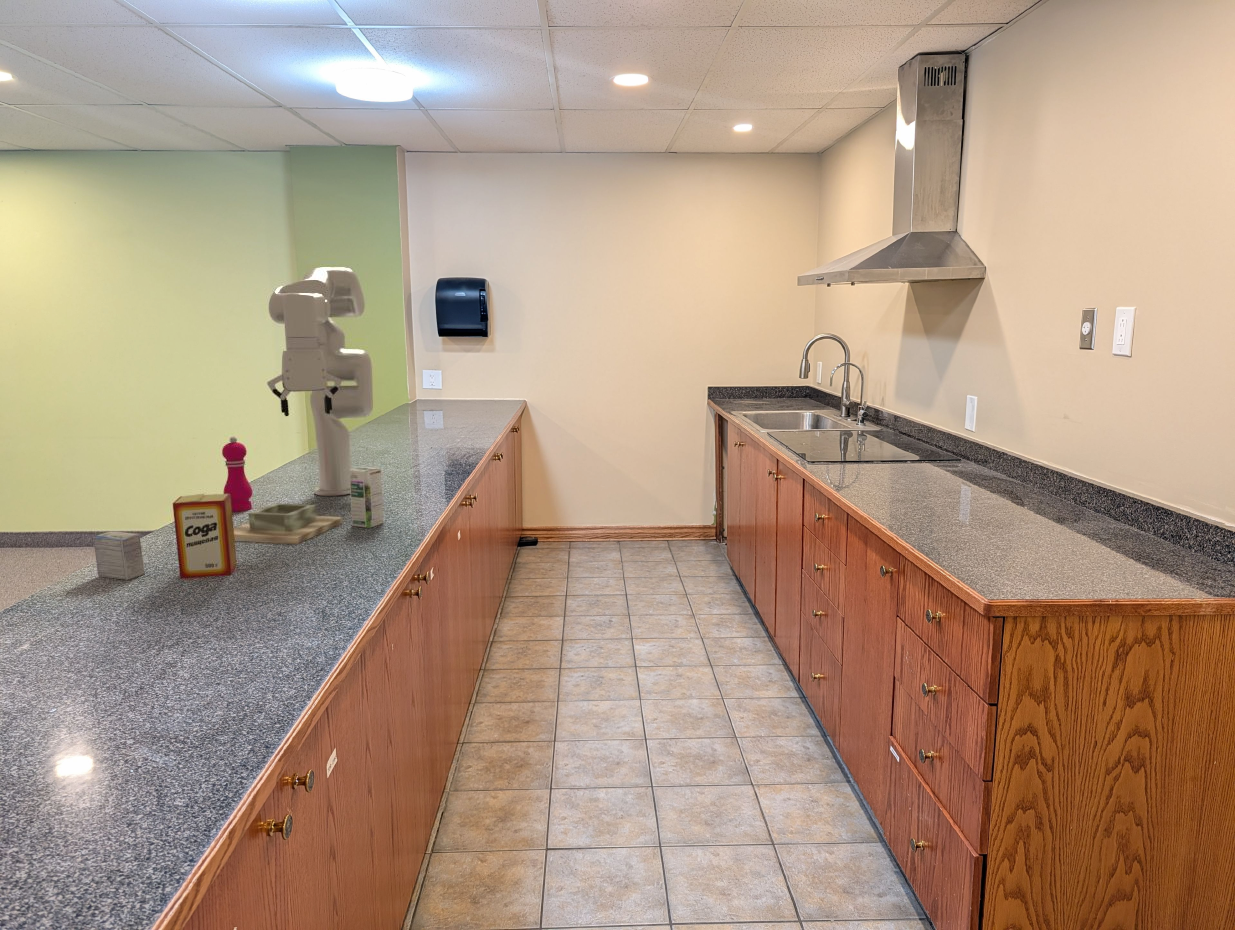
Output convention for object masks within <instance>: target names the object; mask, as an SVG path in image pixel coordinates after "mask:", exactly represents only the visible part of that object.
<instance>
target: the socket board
mask: <svg viewBox="0 0 1235 930" xmlns="http://www.w3.org/2000/svg"><path fill="white" fill-rule="evenodd" d="M316 506H317V505H316V504H299V503H298V504H297V503H282V502H281V503H278V502H276V503H272V504H270V505H268V506H264V507H262V508H260V509H257V510H254V511H251V512H248V522H247V523H245V524H242V525H239V526H236V527H233V529H234V540H235V541H237V542H238V541H240V542H257V543H272V544H288V545H289V544H290V545H299V544H301V543H303V542H305V541H307V540H310V539H312V538H315V537H316V536H318V535H320V534H322V533H325V532H327V531H328V530H329V531H330V530H331V529H333V528H335V526H336V527H337V526H340V525H342V524H344V521H343V519H344V517H342V516H326V515H325V516H324V515H323V516H322V515H320V516H319V515H317V507H316Z"/></svg>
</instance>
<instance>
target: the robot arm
mask: <svg viewBox="0 0 1235 930" xmlns="http://www.w3.org/2000/svg"><path fill="white" fill-rule="evenodd" d="M360 283H361V282H360V280H359V278H358V276H357V274H356V273H355V271H353V270H352V269H350V268H348V267H316V268H312V269H309V270H308V271H307V272H306V274H304V276H303V278H302V279H301V280H298V281H295V282H292V283H288V284H285V285H284V284H283V285H282V286H279V287H277V288H275V289H274V291H273V292H272V294H271V295H270V298H269V301H268V314H269V316H270V318H271V320H272V321H274V323H276V324H280V325H284V334H285V336H284V338H285V350H282V354H281V355H282V356H281V374H280V375H278V376H276V377H273V378H272V379H270V380H269V381H267V382H266V385H267V386H268V388H269V389H270V391H271V392H272V394H274V396H276V397H277V398H278V399H280V409H281V414H282V413H284V415H283V416H285V417H289V415H290V412H289V400H288V399H287V397H288V396H289V394H290V393H291V392H293V393H294V392H295V393H296V392H298V393H299V392H311V393H310V396H309V403H310V409H311V412H312V417H313V422H314V430H315V442H316V458H317V471H318V473H317V474H318V484H319V486H317V487H315V488H314V489H313V493H314V494H315V495H317V496H323V497H332V496H333V497H334V496H335V497H336V496H344V495H350V479H349V470H351V469H353V467H352V450H351V436H350V431H349V428H348V427H347V426H346V424H344V423H343V422H342V421H341V420H340V419H355V418H356V419H357V418H366V417H370V416H371V414H372V413H373V408H374V395H373V394H374V393H373V388H374V387H373V386H374V385H373V366H372V360H371V357H370V355H369V353H368V352H367V351H366V350H364V349H346V336H345V333H344V331H343V330H342V329H341V327H340V326H339V325H338V324H337V322H335V321H334V320H333V319H332V318H358V317H361V316H362V315H363V313H364V311H365V306H366V305H365V304H366V302H365V298H364V293H363V290H362V287H361V284H360ZM280 382H281V383H282V388H283V390H282V391H281V392H280V390H279V389H277V387H276V385H277V384H278V383H280ZM328 383H334V384H333V385H328ZM342 383H355V385H341V384H342Z"/></svg>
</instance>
